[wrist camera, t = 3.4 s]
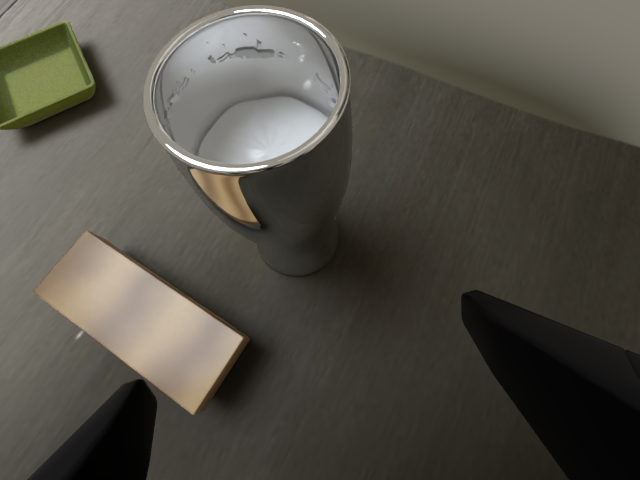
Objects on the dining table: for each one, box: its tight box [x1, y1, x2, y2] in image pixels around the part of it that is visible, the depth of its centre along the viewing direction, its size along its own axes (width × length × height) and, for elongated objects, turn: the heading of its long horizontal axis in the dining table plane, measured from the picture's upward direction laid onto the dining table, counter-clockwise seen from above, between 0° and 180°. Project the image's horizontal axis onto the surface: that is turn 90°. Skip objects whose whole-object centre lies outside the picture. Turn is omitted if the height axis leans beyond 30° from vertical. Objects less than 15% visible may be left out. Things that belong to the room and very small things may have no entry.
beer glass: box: [143, 5, 352, 276], centre depth 17 cm, size 7×7×15 cm
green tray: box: [0, 22, 96, 130], centre depth 29 cm, size 9×9×2 cm
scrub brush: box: [33, 230, 250, 415], centre depth 21 cm, size 13×5×3 cm, turn 58°
